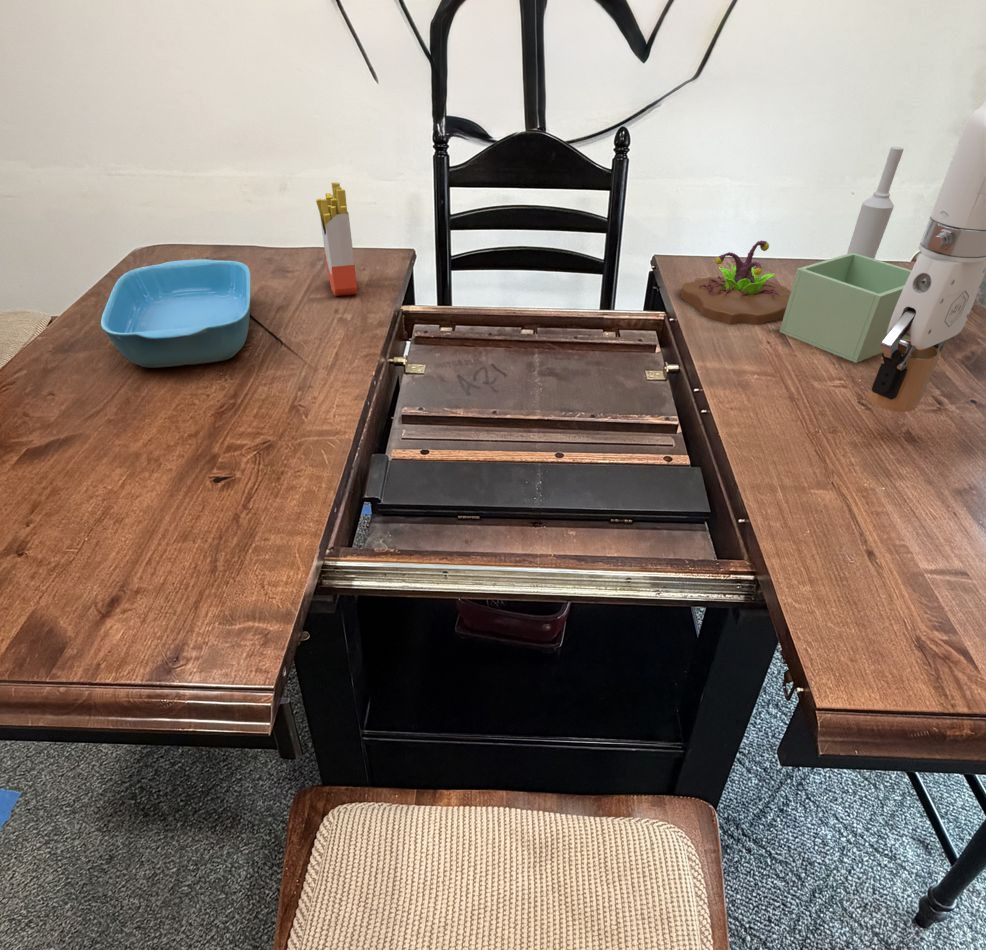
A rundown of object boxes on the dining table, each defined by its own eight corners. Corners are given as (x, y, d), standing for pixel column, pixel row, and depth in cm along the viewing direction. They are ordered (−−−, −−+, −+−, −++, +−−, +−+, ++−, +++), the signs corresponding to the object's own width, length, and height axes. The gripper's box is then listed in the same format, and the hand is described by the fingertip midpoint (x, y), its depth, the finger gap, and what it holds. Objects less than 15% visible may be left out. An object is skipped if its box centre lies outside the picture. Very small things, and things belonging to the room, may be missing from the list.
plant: (815, 321, 128) (836, 255, 120) (716, 331, 124) (732, 263, 116) (758, 283, 142) (774, 222, 134) (668, 291, 138) (679, 228, 131)
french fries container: (334, 303, 132) (319, 194, 120) (327, 283, 139) (312, 179, 127) (359, 300, 133) (346, 193, 121) (350, 281, 140) (338, 178, 128)
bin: (907, 344, 121) (935, 277, 113) (854, 366, 114) (880, 296, 107) (831, 316, 130) (852, 252, 122) (778, 334, 123) (797, 268, 116)
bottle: (860, 306, 133) (915, 152, 116) (831, 302, 135) (881, 149, 118) (859, 297, 137) (913, 146, 120) (831, 293, 138) (880, 143, 121)
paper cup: (927, 403, 93) (950, 351, 88) (900, 416, 90) (923, 364, 86) (885, 386, 96) (905, 335, 92) (859, 398, 94) (878, 347, 89)
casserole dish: (134, 300, 132) (120, 259, 127) (257, 291, 136) (249, 251, 131) (106, 388, 106) (88, 341, 101) (260, 373, 110) (250, 328, 105)
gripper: (950, 262, 74) (885, 418, 86) (1032, 233, 81) (962, 380, 94) (885, 244, 78) (832, 395, 91) (968, 217, 86) (909, 360, 98)
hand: (898, 386), depth 92 cm, fingers closed on paper cup, 6 cm apart
